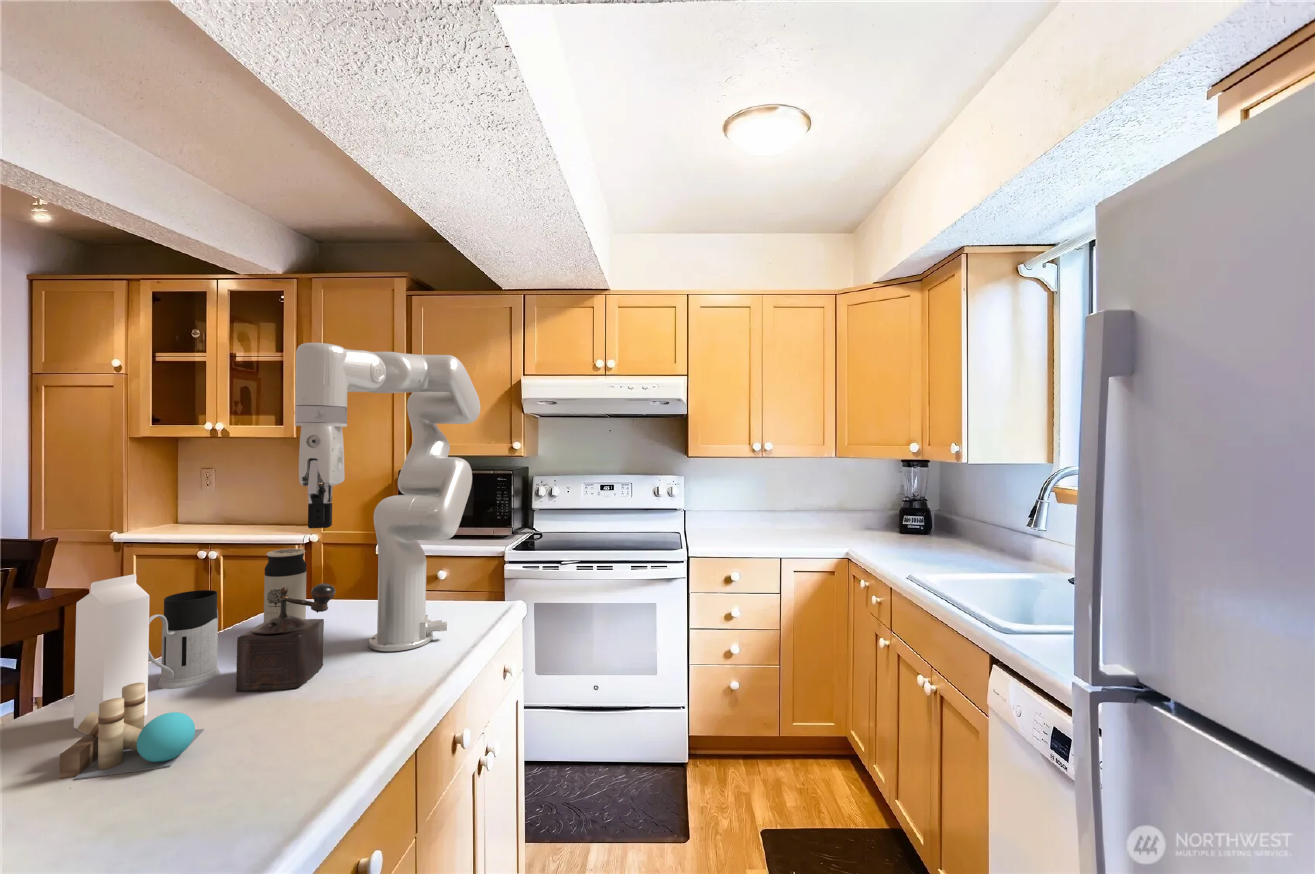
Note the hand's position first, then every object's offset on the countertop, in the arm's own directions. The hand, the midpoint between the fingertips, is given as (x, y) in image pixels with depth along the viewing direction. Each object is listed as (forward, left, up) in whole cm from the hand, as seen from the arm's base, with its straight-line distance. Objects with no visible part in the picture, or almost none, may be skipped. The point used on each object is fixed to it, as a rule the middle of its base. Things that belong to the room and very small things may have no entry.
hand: (320, 527), depth 94 cm
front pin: (+18, +11, -28) cm, 35 cm away
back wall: (+25, +11, -29) cm, 39 cm away
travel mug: (+16, -41, -29) cm, 53 cm away
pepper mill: (+6, -11, -29) cm, 32 cm away
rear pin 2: (+21, +9, -29) cm, 37 cm away
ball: (+15, +14, -26) cm, 33 cm away
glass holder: (+25, -14, -29) cm, 41 cm away
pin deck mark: (+19, +11, -29) cm, 36 cm away
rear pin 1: (+21, +14, -29) cm, 38 cm away
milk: (+28, -1, -29) cm, 40 cm away
